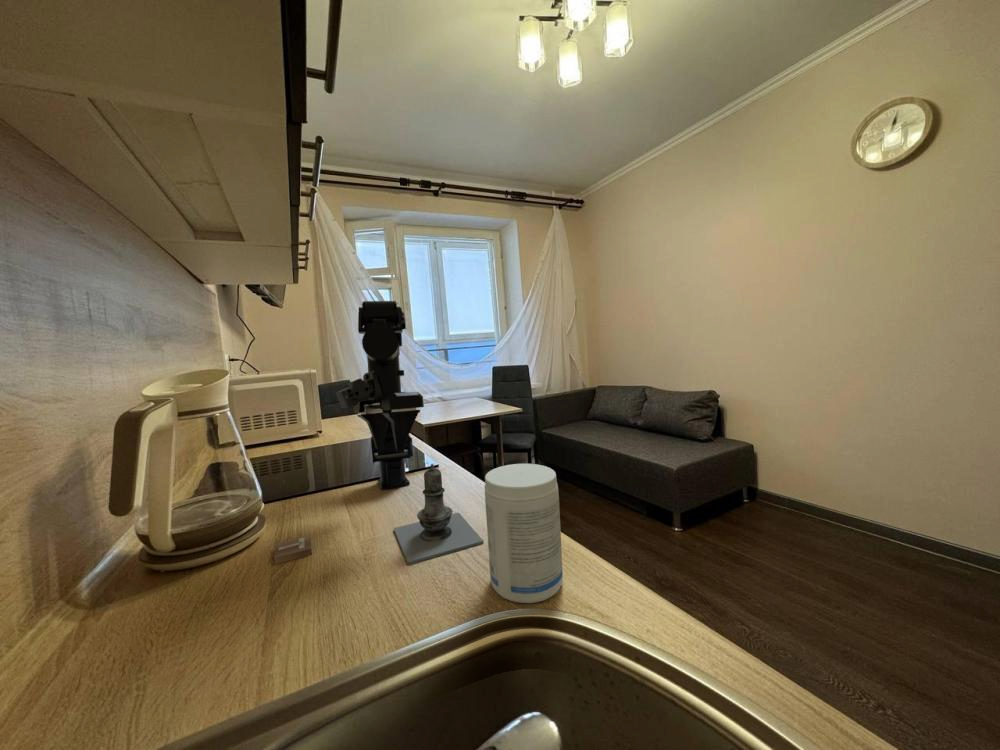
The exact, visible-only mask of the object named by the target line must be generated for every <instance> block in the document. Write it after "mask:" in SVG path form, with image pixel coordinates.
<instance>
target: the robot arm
mask: <svg viewBox="0 0 1000 750" xmlns="http://www.w3.org/2000/svg"><path fill="white" fill-rule="evenodd" d="M397 303H398V302H397V300H369V301H368V300H364V301H362V302H361V306H360V307H358V315H357V316H358V319H357V320H358V321H357V322H358V324H357V331H358V334H359V335H363V336H362V340H361V345H362V349H363V350H364V352H365V354H366V357H367V372H365V373H364V375H363V376H362V378H357V379H355V380H353V381H350V382H349V386H348V387H346V388H343V389H341V390H338V391H337V392H335V395H336V397H337V399H338V403H339V404H340V407H341V409H350V408H353V414H357V413H359V414H357V415H356V416H357V417H358V418H360V419H361V420H363V421H364V422H366V424H367V426H368V428H369V432H370V434H371V436H370V445H371V457H372V463H373V464H374V463H378V462H379V475H380V478H379V479H377V483H378V486H379V488H380V490H382V491H383V490H388V489H393V488H398V487H403V486H409V485H410V484H411V483H410V481H409V479H408V478H407V476H406V463H405V459H411V457H413V456H414V453H413V438H412V437H411V435H410V433H411V430H412V428H413V426H414V423H415V421H416V419H417V416H418V415H419V413H421V409H417V408H424V407H425V405H424V404H425V403H424V402H425V401H424V396H423V395H422V394H421V393H420V392H419V391H407V392H406V391H402V383H401V382H402V381H401V377H403V376H405V369H401V368H400V355H401V354H400V353H401V352H400V347H402V346H403V338H402V337H403V336H402V333H403V330H407V329H406V318H405V312H404V311H403V309H402V308H401V306H398V305H397Z"/></svg>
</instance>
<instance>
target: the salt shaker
mask: <svg viewBox="0 0 1000 750" xmlns="http://www.w3.org/2000/svg"><path fill="white" fill-rule="evenodd" d="M429 466H430V468H429V469H427V470H426V471H425V472H424V473H423V480H424V482H423V483H424V489H423V490H422V494H423V495H424V508H423V509H420V511H418V512H417V514H416V516H417V519H418V522H420V524H421V526H422V527H423V528H424V530H423V531H422V532H421V534H420V538H421V539H422V540H424V541H428V542H436V541H441V540H444V539H446V538H448V537H449V536H450V535H451V534H452V530H451V528H449V527H447V525H448V524H449V522H450V519H451V515H452V514H453V509H452V508H451V507H450V506H446V505H445V502H444V493H445V488H444V487H443V480H442V479H443V478H442V471H441V470H440V469H438V468H435V464H434V463H430V465H429Z"/></svg>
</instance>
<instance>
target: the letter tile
mask: <svg viewBox="0 0 1000 750" xmlns="http://www.w3.org/2000/svg"><path fill="white" fill-rule="evenodd" d="M311 555H312V543H311V534H308V535H305V536H301V537H300V536H299V537H297V538H296V537H295V538H291V539H289V540H288V539H287V540H284V541H281V542H275V548H274V557H273V560H274V565H279V564H281V563H286V562H289V561H292V560H296V559H301V558H304V557H307V556H311Z"/></svg>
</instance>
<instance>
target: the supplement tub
mask: <svg viewBox="0 0 1000 750" xmlns="http://www.w3.org/2000/svg"><path fill="white" fill-rule="evenodd" d="M484 483H485V484H484V500H485V515H486V518H485V519H486V529H487V544H488V545H487V546H488V559H489V560H488V561H489V572H490V573H489V574H490V576H489V577H490V582H491V586H492V588H493V590H494V591H495V592H496V593H497V594H498V595H499V596H500V597H502V598H503V599H505V600H508V601H511V602H515V603H520V604H522V603H523V604H534V603H540V602H543V601H546V600H547V599H550V598H551V597H553V596H554V595H556V593H558V591H559V590H560V588H561V587H562V584H563V579H564V575H563V572H564V571H563V555H562V554H563V552H562V551H563V549H562V535H561V534H562V533H561V532H562V531H561V530H562V529H561V518H560V517H561V516H560V515H561V513H560V512H561V510H560V496H559V495H560V494H559V485H558V482H557V473H556V471H555V470H554V469H552V468H551V467H548V466H546V465H541V464H538V463H535V464H534V463H514V464H513V463H512V464H506V465H502V466H499V467H496V468H493V469H491V470H489V471H488V472H487V473H486V474H485V475H484Z"/></svg>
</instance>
